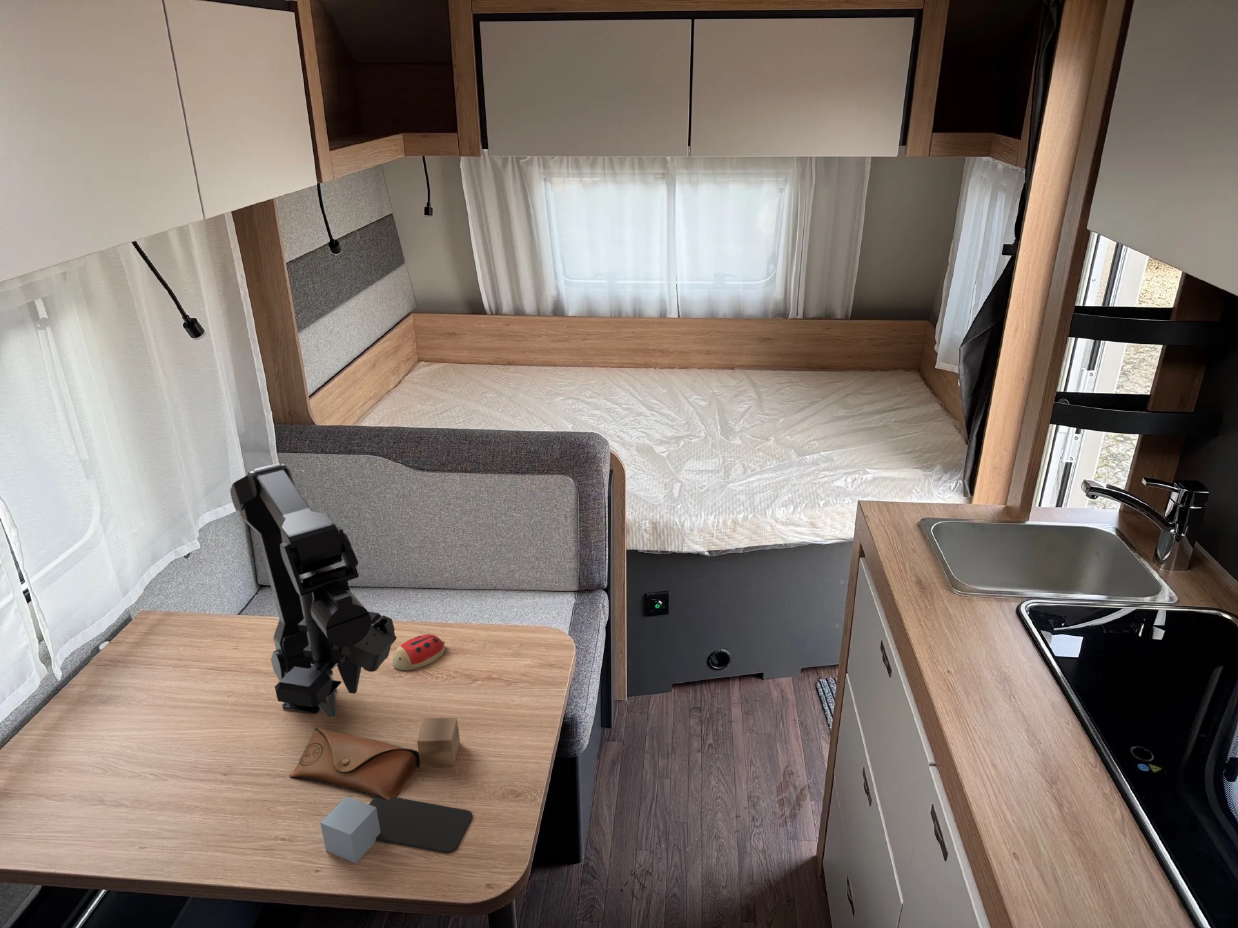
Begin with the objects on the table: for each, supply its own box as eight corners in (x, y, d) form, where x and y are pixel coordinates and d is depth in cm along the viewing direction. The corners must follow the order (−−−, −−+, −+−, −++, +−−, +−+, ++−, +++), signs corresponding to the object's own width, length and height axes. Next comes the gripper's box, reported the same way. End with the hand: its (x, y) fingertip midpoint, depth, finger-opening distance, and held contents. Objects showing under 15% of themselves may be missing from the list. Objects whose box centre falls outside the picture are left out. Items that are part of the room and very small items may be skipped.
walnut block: (420, 767, 126) (416, 740, 124) (427, 744, 130) (423, 718, 128) (454, 766, 126) (451, 740, 124) (460, 743, 130) (456, 717, 128)
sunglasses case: (284, 777, 124) (292, 730, 125) (313, 767, 131) (320, 723, 131) (393, 802, 119) (400, 754, 120) (417, 791, 126) (424, 745, 126)
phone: (453, 853, 111) (349, 833, 114) (453, 857, 111) (350, 837, 114) (475, 810, 117) (376, 793, 120) (475, 815, 117) (377, 797, 121)
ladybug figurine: (385, 661, 150) (383, 644, 149) (434, 639, 156) (432, 623, 155) (404, 678, 146) (401, 661, 144) (453, 655, 152) (451, 638, 150)
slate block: (326, 851, 112) (320, 822, 110) (352, 823, 116) (346, 795, 114) (355, 863, 110) (350, 834, 108) (381, 835, 114) (376, 807, 112)
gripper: (341, 659, 104) (358, 759, 110) (412, 582, 121) (424, 673, 127) (262, 647, 107) (284, 745, 113) (342, 574, 124) (358, 662, 130)
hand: (342, 704), depth 121 cm, fingers open, 5 cm apart
